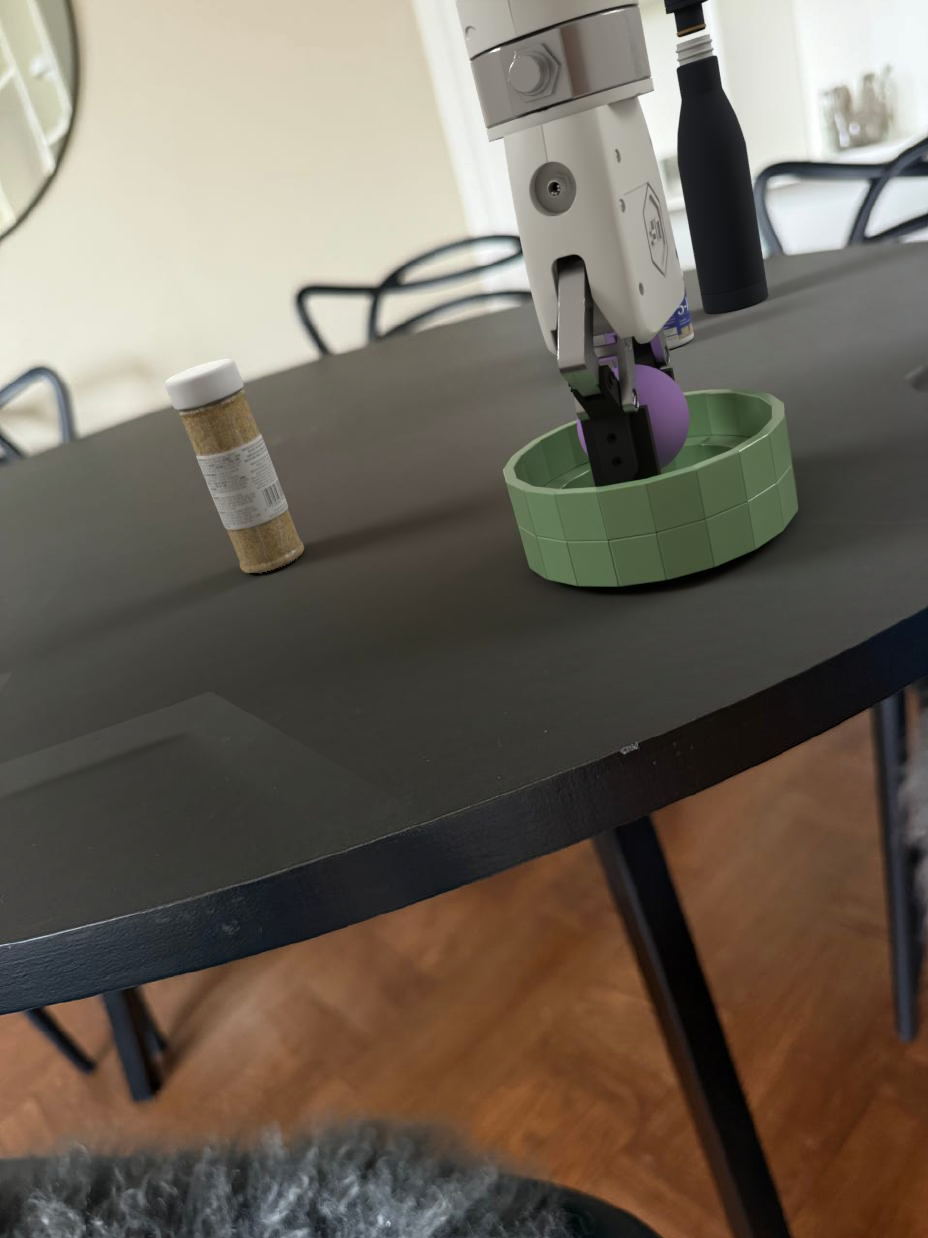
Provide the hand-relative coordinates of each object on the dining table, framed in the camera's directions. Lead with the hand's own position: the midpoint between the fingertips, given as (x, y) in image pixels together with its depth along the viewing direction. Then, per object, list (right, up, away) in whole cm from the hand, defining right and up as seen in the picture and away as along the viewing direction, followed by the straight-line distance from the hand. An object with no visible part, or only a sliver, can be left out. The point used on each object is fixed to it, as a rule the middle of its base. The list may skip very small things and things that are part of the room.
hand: (642, 463), depth 51 cm
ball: (-1, +2, -1) cm, 2 cm away
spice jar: (-22, -4, +16) cm, 28 cm away
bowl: (+1, -4, +2) cm, 4 cm away
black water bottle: (+18, +24, +49) cm, 58 cm away
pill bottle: (+10, +17, +42) cm, 46 cm away
